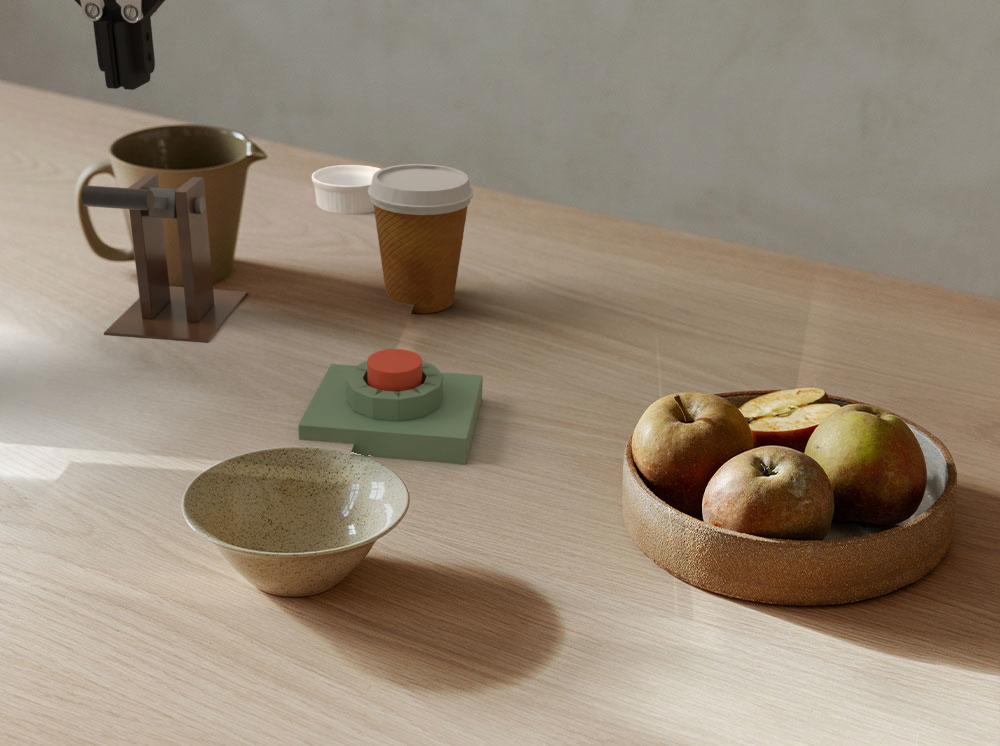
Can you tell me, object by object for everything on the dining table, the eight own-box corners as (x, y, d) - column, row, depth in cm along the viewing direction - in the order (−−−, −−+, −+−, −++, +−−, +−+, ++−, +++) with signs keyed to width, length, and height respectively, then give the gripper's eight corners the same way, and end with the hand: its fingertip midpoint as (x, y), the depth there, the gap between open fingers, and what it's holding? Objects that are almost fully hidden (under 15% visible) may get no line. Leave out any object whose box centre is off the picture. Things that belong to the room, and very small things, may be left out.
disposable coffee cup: (490, 299, 105) (494, 176, 100) (427, 329, 98) (428, 199, 93) (414, 274, 110) (414, 156, 105) (348, 302, 103) (345, 177, 98)
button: (362, 391, 79) (361, 370, 79) (373, 367, 83) (373, 346, 82) (417, 396, 79) (417, 374, 78) (426, 371, 83) (426, 350, 82)
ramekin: (299, 217, 125) (297, 180, 123) (333, 195, 132) (332, 160, 130) (371, 227, 122) (371, 189, 121) (402, 205, 130) (402, 169, 128)
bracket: (209, 353, 92) (196, 206, 87) (104, 345, 93) (85, 198, 87) (248, 303, 102) (239, 168, 96) (153, 296, 103) (139, 161, 97)
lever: (145, 215, 82) (146, 183, 82) (80, 211, 82) (81, 179, 82) (202, 220, 94) (203, 191, 94) (145, 216, 94) (146, 188, 94)
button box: (299, 451, 79) (296, 401, 77) (331, 388, 88) (330, 342, 86) (466, 465, 78) (467, 415, 76) (482, 399, 87) (483, 354, 85)
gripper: (-76, -261, 58) (-17, 90, 66) (201, -251, 57) (226, 105, 65) (-4, -252, 65) (41, 66, 73) (245, -242, 64) (263, 79, 72)
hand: (129, 84), depth 69 cm, fingers closed
